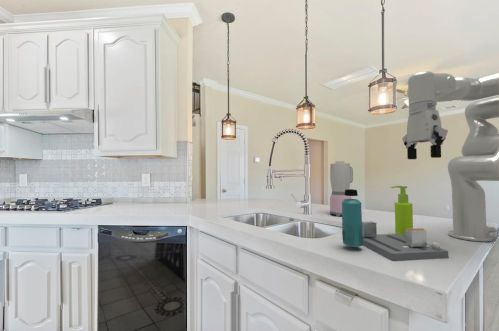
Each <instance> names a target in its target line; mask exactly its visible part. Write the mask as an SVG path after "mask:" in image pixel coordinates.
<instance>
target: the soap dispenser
mask: <svg viewBox="0 0 499 331" xmlns="http://www.w3.org/2000/svg"><path fill="white" fill-rule="evenodd" d="M390 188H392V189H394V188H395V189H397V188H399V189H400V193H399V194H397V200H398V202H394V228H395V230H394V232H395V233H394V234H401V235H404V236H406V229H414V218H413V212H414V211H413V203H411V202H409V195H408V194H407V192H406V189H408V186H407V185H406V186H405V185H394V186H391V187H390Z"/></svg>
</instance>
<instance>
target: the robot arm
mask: <svg viewBox="0 0 499 331" xmlns="http://www.w3.org/2000/svg"><path fill="white" fill-rule="evenodd" d="M407 87H408V88H407V91H406V92H407V93H406V94H407V98H408V117H407V123H406V134H405V135H404V136H403V137H402V142H403V145H404V146H405V149H407V154H406V156H407V158H406V159H407V160H417V159H418V158H417V157H418V156H417V155H418V153H417V148H416V146H417V145H418V144H421V143H430V148H429V149H430V158H433V159H434V158H435V159H436V158H437V159H438V158H442V145H444V142H445V140H446V137H447V135H448V132H449V130H448V129H446V128H442V121H441V117H440V113H439V110H438V109H436V108H437V104H438V103H441V102H443V103H444V102H452V101H467V102H469V101H470V102H471V101H473V102H471V103H469V104H468V105H467V106H465V109H464V116H465V120H466V123H467V125H468V128H469V132H468V133H467V136H466V139H465V141H464V142H463V145H462V147H461V154H462V155H460V156H456V157H454V158H451V159H450V160H449V162H448V164H447V170H448V175H449V178H450V185H451V202H452V203H451V204H452V210H451V211H452V230H449V231H448V232H447V234H448V236H450V237H452V238H456V239H460V240H465V241H470V242H486V243H487V242H488V243H489V242H492V241H493V240H494V239H493V238H494V237H493V236H492V235H489V234H490V233H496V232H497V231H498V230H497V228H496V227H494V226H492V227H491V226H490V227H489V226H487V208H486V207H487V206H486V204H487V202H486V192H485V190H484V188H483V187H482V186H481V185H480V184H479V183H478V182H479V181H480V182H481V181H486V182H499V129H498V128H497V126H495V125H494V124H493V123H492V122H489V121H487V120H489V119H490V120H491V119H497V118H499V71H498V72H494V73H493V72H492V73H490V74H487V75H483V76H480V77H476V78H473V77H464V76H458V77H457V76H456V77H454V75H453V74H450V73H446V72H444V73H443V72H441V73H433V71H420V72H416V73H414V74H412V75H410V77H409V78H408V80H407Z"/></svg>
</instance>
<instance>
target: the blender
mask: <svg viewBox="0 0 499 331" xmlns="http://www.w3.org/2000/svg"><path fill="white" fill-rule="evenodd" d="M329 167H330V168H329V173H330V174H329V176H330V177H329V180H330V185H331V186H330V187H331V194H330V196H329V214H330V216H332V215H335V216H336V217H338V218H340V217H341V216H342V201H343V200H344V199H353V198H352V196H345V190H347V189H351V188H350V187H351V184H352V183H353V182H354V169H353V168H352V166H351V164H350V163H348V162H346V163H345V161H344V160H343V161H342V160H340V161H339V160H338V161H337V160H335V162H334V163H330V166H329Z"/></svg>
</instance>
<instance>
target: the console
mask: <svg viewBox="0 0 499 331" xmlns="http://www.w3.org/2000/svg"><path fill="white" fill-rule="evenodd" d="M362 246H364V247H366V248H368V249H370V250H372V251H373V252H375V253H378V254H379V255H381V256H382V257H384V258H387V259H388V260H390V261H391V262H397V261H412V260H413V261H414V260H434V259H447V258H448V259H449V251H448V250H447V249H443V248H441V242H438V241H431V244H429V243H427V246H421V247H411V246H409V245H406V236H404V235H401V234H395V233H384V234H383V233H380V234H377V237H363V244H362Z"/></svg>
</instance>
